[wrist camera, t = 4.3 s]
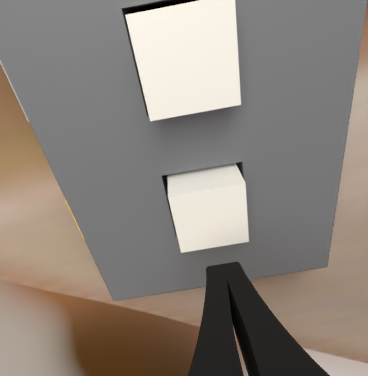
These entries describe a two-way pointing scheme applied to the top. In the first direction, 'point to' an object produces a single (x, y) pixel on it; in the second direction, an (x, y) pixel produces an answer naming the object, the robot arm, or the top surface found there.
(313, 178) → the button board
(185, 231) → the button
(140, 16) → the button middle
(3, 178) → the top surface
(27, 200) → the top surface
